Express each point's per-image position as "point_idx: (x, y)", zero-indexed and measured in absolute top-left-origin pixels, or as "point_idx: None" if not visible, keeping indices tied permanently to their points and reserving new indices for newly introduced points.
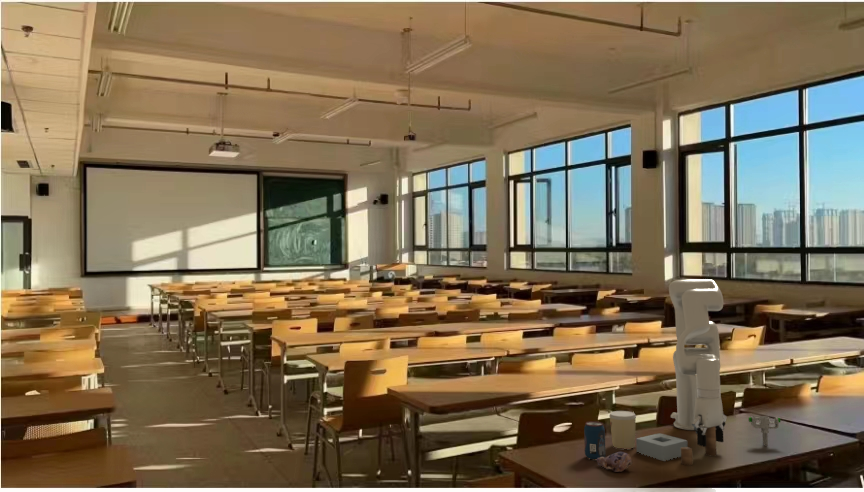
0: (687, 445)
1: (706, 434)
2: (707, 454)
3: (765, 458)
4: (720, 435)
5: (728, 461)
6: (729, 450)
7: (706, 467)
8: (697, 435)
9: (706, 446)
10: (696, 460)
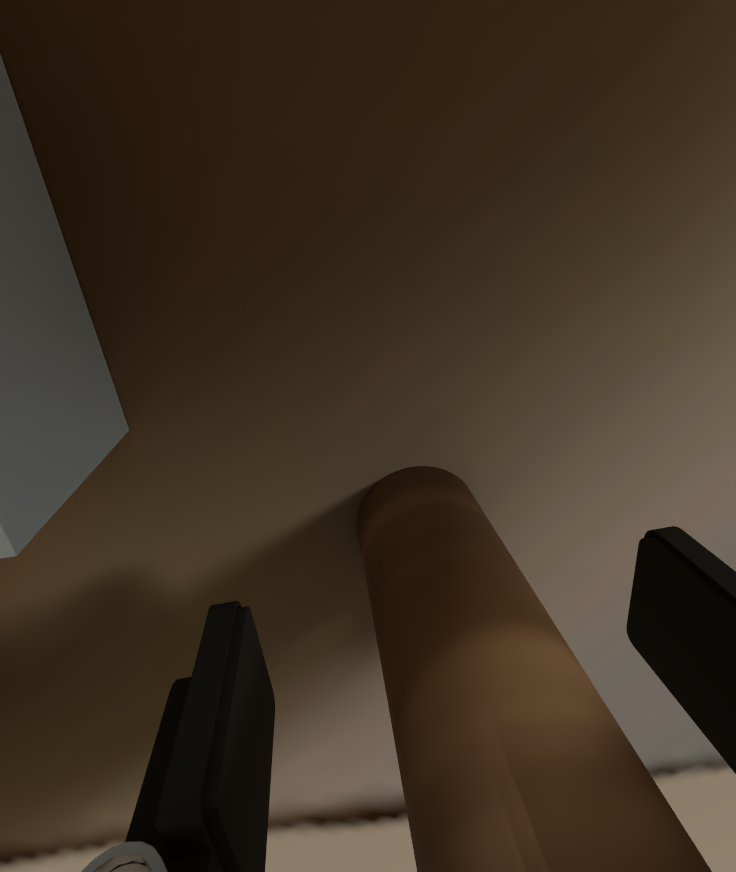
0: (69, 496)
1: (403, 788)
2: (359, 530)
3: (684, 743)
4: (702, 708)
5: (375, 720)
6: (702, 494)
7: (56, 777)
8: (173, 768)
9: (369, 587)
10: (97, 615)
